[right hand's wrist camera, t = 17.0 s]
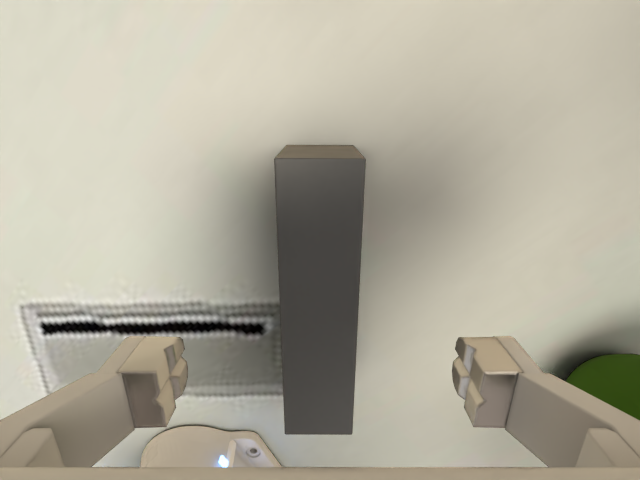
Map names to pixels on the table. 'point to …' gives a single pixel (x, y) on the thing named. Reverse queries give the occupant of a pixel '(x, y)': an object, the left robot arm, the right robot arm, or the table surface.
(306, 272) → the box
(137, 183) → the table surface
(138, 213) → the table surface
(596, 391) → the vase
